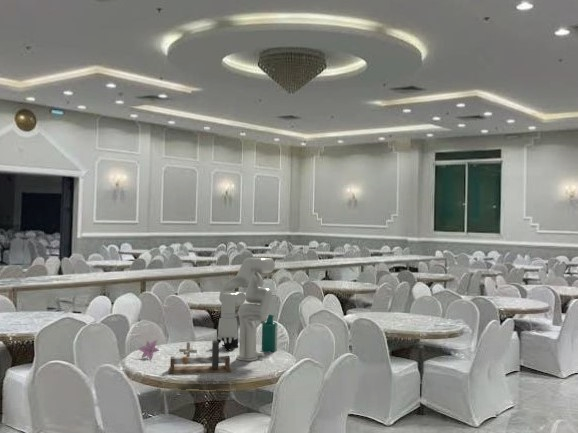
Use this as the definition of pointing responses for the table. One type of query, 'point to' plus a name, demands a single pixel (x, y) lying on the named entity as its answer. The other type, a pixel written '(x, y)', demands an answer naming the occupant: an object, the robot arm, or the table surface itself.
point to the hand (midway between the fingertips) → (227, 350)
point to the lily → (149, 349)
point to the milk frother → (234, 343)
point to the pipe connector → (188, 350)
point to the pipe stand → (198, 369)
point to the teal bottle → (269, 335)
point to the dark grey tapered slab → (215, 354)
